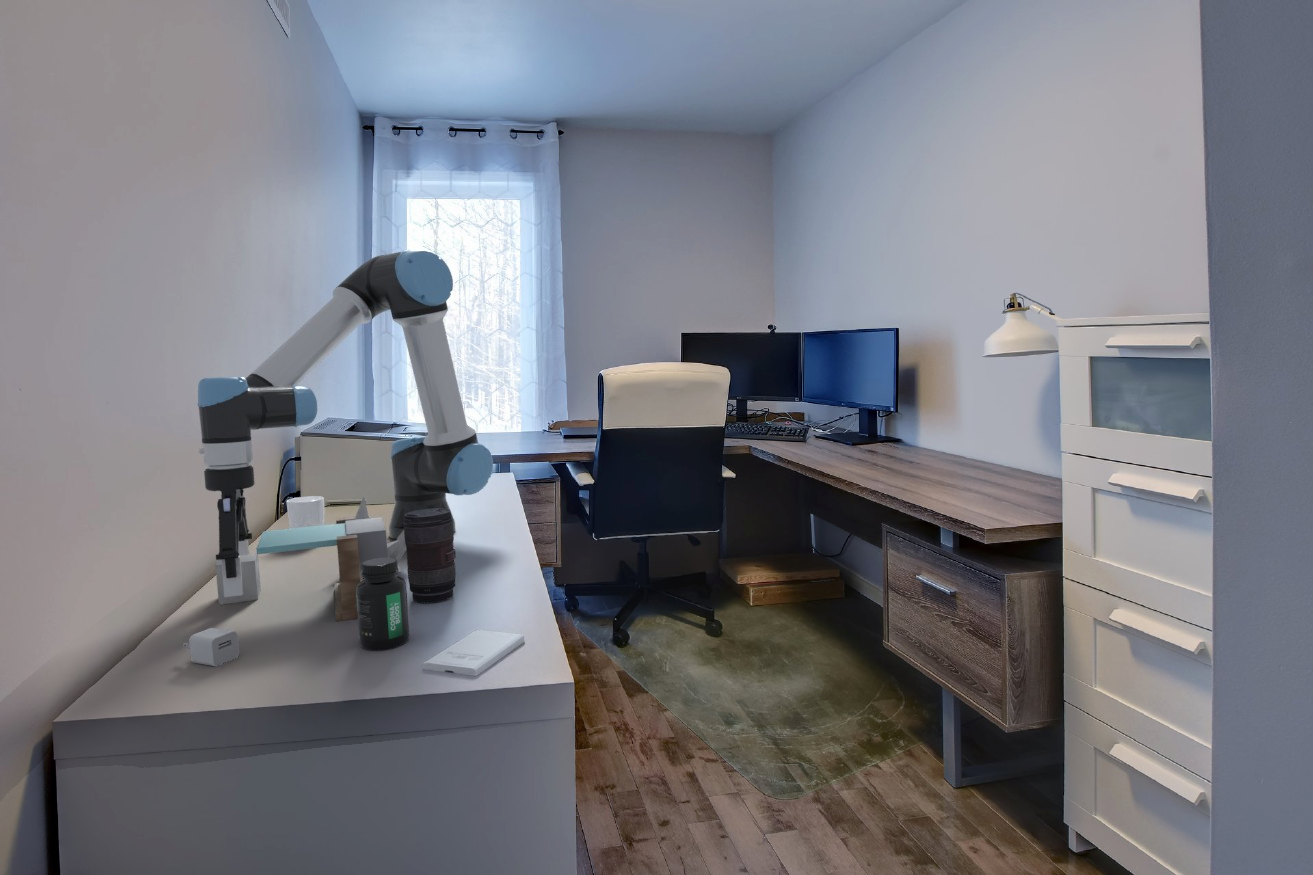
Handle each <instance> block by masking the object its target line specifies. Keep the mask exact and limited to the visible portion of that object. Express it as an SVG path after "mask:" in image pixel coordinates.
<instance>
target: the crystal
mask: <svg viewBox="0 0 1313 875" xmlns="http://www.w3.org/2000/svg"><path fill="white" fill-rule="evenodd" d="M369 516H370V515H369V512H368V508H367V502H366V498H365V497H364V496H363V497H362V499H361V502H360V504H359V506H358V509H357V511H356V514H355V516H354V520H359V519H369V518H370V517H369ZM390 541H391V540H389V539H388V541H387V553H388V558H395V559H396V560H397V564H398V572H399V570H400V569H401V568H400V566H399V562H400V561H401V559H402V558H403V556H404V555H405V553H406V552H407V550H406V545H405V537H404V530H403V531H402V533H401V534H400V535H399V536H398V538H397V539H396V540H394V541H391V542H390ZM359 568H360V580H362V579H361V578H364V577H362V574H361V573H362V563H359ZM400 571H401V570H400Z"/></svg>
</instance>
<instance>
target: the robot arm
mask: <svg viewBox="0 0 1313 875" xmlns="http://www.w3.org/2000/svg"><path fill="white" fill-rule="evenodd" d="M453 288H454V280H453V275H452V271H451V269H450V268H449V265H448V264H447V262H445V260H444V259H443V258H442V257H440V256H439V255H438V254H437V253H435V252H433V251H431V250H427V249H406V250H403V251H398V252H397V251H396V252H393V253H388V254H380V255H377V256H374V257H371V258H369V259H368V260H367V261H365V262H364V263H362V264H361V265H360V266H358V268H356V269H355V270H354V271H353V272H352V273H350V274H349V275H348V276H347V277H346V278H345V279H344V280H343V281H342V282H341V283H339V285H338V286H336V287H335V288H334V289H333V291H332V298H331V299H330V300H329V301H328V302H326V303H325V304H324V305H323V306H322V307H320V309H319V310H318V311H317V312H316V313H315V314H313V316H311V317H310V318H309V319H308V320H307V321H306V322H305V323H304V324H303V325H302V326H301V327H299V329H297V330H296V331H295V332H294V333H293V334H292V335H291V336H290V337H289V338H287V340H286V341H285V342H283V343H282V344H281V346H279V347H278V348H276V350H275V351H274V352H273V353H271V355H270V356H269V357H267V358H266V359H265V360H264V361H263V362H262V363H261V364H260V365H259V366H258V367H256V369H254V370H253V371H252V372H251V373H250V374H249V375H247V377H244V376H227V377H225V376H224V377H222V376H221V377H220V376H219V377H204V378H202V379H200V380H199V382H198V384H197V385H198V388H197V407H198V412H199V424H200V430H201V432H200V433H201V443H202V447H201V448H199V449H198V454H200V455H203V454H204V455H203V456H202V457H203V458H202V459H203V465H204V466H206V467H208V468H206V469H204V471H203V474H204V486H205V487H204V488H205V489H206V490H207V491H210V492H221V495H220V497H221V498H219V499H217V501H216V502H217V510H218V538H219V539H218V546H219V547H218V548H219V551H218V554H215V560H216V561H218V560H221V563H222V575H223V588H224V597H231V596H239V595H243V588H242V575H241V562H240V556H239V555H245V554H250V548H249V540H252V539H253V533H252V532H250V530H249V528H248V520H247V514H246V512H247V510H246V502H247V501H246V497H245V496H244V492H245V491H244V490H245V489H248V488H249V489H250V488H253V486H254V485H255V474H254V473H255V471H254V467H253V466H252V465H251V463H253V462H254V454H253V439H252V430H255V431H256V430H259V429H260V430H261V429H262V430H263V429H278V428H291V427H294V428H297V427H301V426H307V425H310V424H312V423H313V422H314V421H315V419H316V417H317V415H318V400H317V396H316V394H315V392H314V391H313V390H312V389H311V388H310V387H308V386H306V385H299V384H300V383H301V382H302V381H304V379H305V378H306V377H307V376H308V375H309V374H310V373H312V371H313V370H315V369H316V368H317V367H318V366H319V364H321V363H322V362H323V361H324V360H325V359H326V358H327V357H328V356H329V355H330V354H332V352H333V351H334V350H336V348H338V346H339V345H340V344H341V343H343V341H345V340H346V338H348V336H349V335H351V333H352V332H353V331H355V330H356V328H358V327H359V326H360V325H361V324H364V325H365V324H369V323H370V322H371V321H372V320H373V319H374V318H375V317H376V316H378V315H380V314H381V313H384V312H387V311H389V310H390V314H391V317H392V318H391V319H392V320H393V321H394V322H395V323H397V324H398V325H399V326H401V327H402V331H403V336H404V339H405V343H406V347H407V351H408V355H409V360H410V363H411V368H412V369H411V370H412V372H413V376H414V381H415V383H416V384H415V385H416V389H417V393H418V396H419V401H420V405H421V408H422V413H423V418H424V421H425V422H424V423H425V426H426V430H427V435H426V436H425V435H424V436H417V437H411V438H402V439H397V440H395V441H393V443H392V444H391V456H390V458H391V465H392V476H393V477H392V479H393V480H392V481H393V491H394V492H393V493H394V506H393V509H392V514H391V518H390V521H389V525H388V534H389V535H388V536H389V538H390V539H394V540H397V538H398V536H399V535H400V534H401V533H402V531H403V530H404V524H403V523H404V518H405V516H404V515H405V514H406V513H408V512H412V511H416V510H422V509H432V508H446V509H450V510H451V508H450V506H449V504H448V501H447V497H446V496H447V494H450V495H454V496H471V495H475V494H478V493H479V492H480V491H481V490H483V489H484V488H485V487H486V486H487V484H488V482H489V479H490V478H491V477H492V475H493V474H492V473H493V471H494V470H493V469H494V468H493V467H494V460H493V456H492V453H491V451H490V449H489V448H487V447H486V446H485V445H484V444H482V443H479V441H478V435H477V432H476V430H475V429H474V428H472V427H471V426H470V425H468V424H467V419H466V415H465V410H464V405H463V403H462V402H463V401H462V397H461V393H460V392H461V391H460V389H459V385H458V380H457V376H456V371H455V367H454V361H453V358H452V354H451V349H450V345H449V341H448V336H447V332H446V326H445V323H444V318H445V316H446V314H447V313H448V312H449V307H448V304H447V301H448V300H449V299H450V297H451V295H452V294H451V292H452V291H453V290H454V289H453ZM451 515H452V518H453V529H454V532H455V531H456V521H455V518H454V515H453V513H452V512H451Z"/></svg>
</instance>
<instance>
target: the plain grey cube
mask: <svg viewBox="0 0 1313 875" xmlns="http://www.w3.org/2000/svg"><path fill="white" fill-rule="evenodd" d="M239 556H240V562H241V575H242V588H243V595H239V596H231V597H224V588H223V575H222V563H221V560H217V561H216V563H215V575H216V586H217V587H216V588H217V598H218V605H219V606H220V605H221V606H222V605H226V604H227V605H228V604H235V603H241V602H242V603H243V602H248V601H249V602H251V601H257V600H259V598H260V595H261V592H262V591H261V588H262V587H261V576H260V575H261V574H260V564H259V563H260V562H259V554H258V555H257V552H256V553H255V552H254V553H249V554H245V555H239Z"/></svg>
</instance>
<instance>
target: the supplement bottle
mask: <svg viewBox="0 0 1313 875" xmlns="http://www.w3.org/2000/svg"><path fill="white" fill-rule="evenodd" d="M398 566H399V563H398V564H397V560H396V559H395V558H376V559H371V560H367V561H365V562H363V563H362V573H361V574H362V577H364V580H363V579H361V580H362V581H361V582H360V583H359V584H358V586H357V588H356V600H357V614H358V618H357V623H358V624H357V625H358V637H359V640H358V641H359V645H360V646H361V647H362V648H363V649H364V650H366V651H367V650H369V651H386V650H390V649H395V648H398V647H400V646H403V645H405V644H406V643H407V642H408V640H409V638H410V622H409V621H410V620H409V606H408V592H407V591H408V590H407V589H408V588H407V583H406V581H405V579H404V578H403V577H401V576H399V575H398V573H399V571H398Z"/></svg>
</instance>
